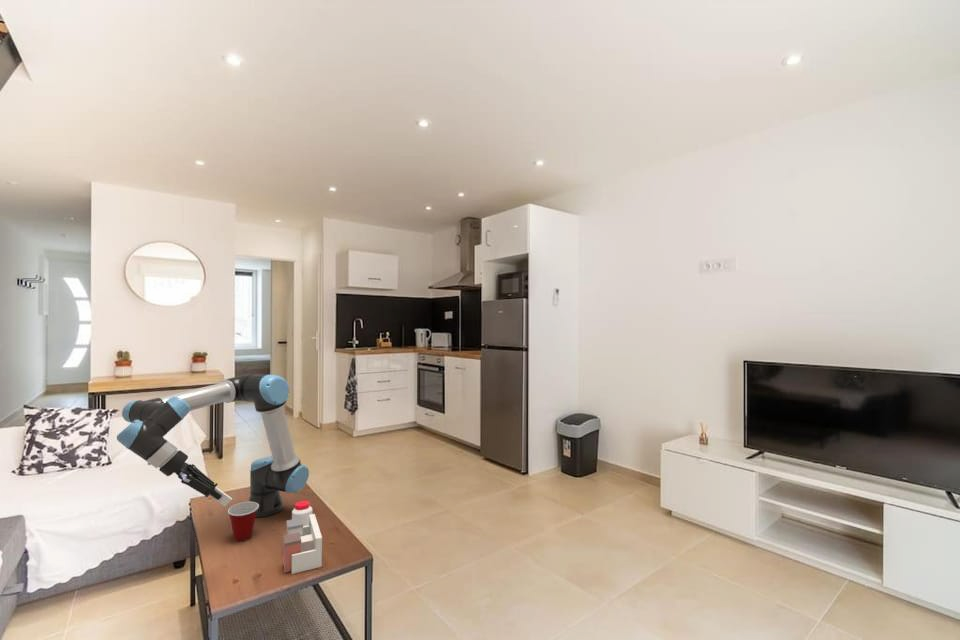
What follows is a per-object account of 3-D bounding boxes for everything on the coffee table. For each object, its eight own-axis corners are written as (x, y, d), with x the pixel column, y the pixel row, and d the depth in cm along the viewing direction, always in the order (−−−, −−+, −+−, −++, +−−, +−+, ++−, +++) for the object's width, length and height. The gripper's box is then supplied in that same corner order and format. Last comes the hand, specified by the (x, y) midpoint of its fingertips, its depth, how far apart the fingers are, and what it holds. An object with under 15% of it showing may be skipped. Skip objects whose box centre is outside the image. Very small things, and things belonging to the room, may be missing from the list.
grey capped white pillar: (286, 546, 161) (286, 520, 161) (301, 543, 163) (301, 517, 163) (287, 554, 155) (287, 527, 156) (302, 551, 158) (303, 524, 158)
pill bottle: (304, 536, 170) (305, 508, 170) (287, 534, 171) (287, 506, 171) (316, 527, 177) (316, 500, 177) (299, 525, 179) (299, 498, 179)
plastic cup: (226, 547, 161) (226, 515, 161) (227, 534, 170) (228, 504, 170) (258, 540, 166) (259, 509, 166) (258, 529, 175) (259, 499, 175)
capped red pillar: (283, 563, 150) (283, 535, 150) (299, 560, 152) (299, 532, 152) (284, 572, 144) (284, 543, 144) (300, 568, 146) (301, 540, 147)
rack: (287, 545, 162) (287, 518, 163) (314, 539, 167) (314, 513, 167) (291, 573, 144) (292, 543, 144) (321, 566, 148) (322, 537, 148)
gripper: (161, 462, 140) (220, 504, 148) (153, 475, 129) (217, 519, 136) (181, 444, 143) (238, 486, 150) (175, 455, 131) (237, 500, 139)
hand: (228, 502), depth 143 cm, fingers closed
